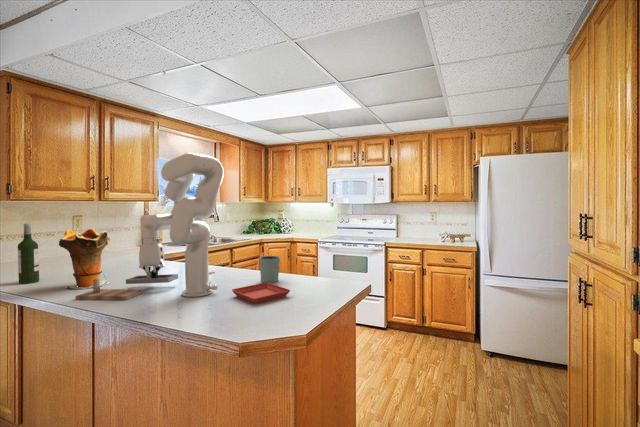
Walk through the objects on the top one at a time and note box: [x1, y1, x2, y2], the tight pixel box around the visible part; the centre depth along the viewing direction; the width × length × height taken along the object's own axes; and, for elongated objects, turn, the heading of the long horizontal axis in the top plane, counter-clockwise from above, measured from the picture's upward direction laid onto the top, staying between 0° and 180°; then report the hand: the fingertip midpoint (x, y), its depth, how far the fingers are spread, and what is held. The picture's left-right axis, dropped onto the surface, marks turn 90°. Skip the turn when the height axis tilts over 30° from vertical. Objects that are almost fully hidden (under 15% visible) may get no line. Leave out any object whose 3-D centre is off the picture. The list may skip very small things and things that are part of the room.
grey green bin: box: [259, 255, 281, 284], centre depth 168 cm, size 10×10×12 cm
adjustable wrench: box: [208, 269, 216, 276], centre depth 179 cm, size 25×6×2 cm, turn 167°
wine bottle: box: [17, 222, 40, 285], centre depth 170 cm, size 8×8×30 cm
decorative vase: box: [58, 227, 111, 290], centre depth 163 cm, size 21×23×28 cm
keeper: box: [75, 278, 144, 301], centre depth 143 cm, size 22×11×8 cm, turn 87°
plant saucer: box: [231, 282, 291, 305], centre depth 140 cm, size 18×18×3 cm
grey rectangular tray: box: [125, 269, 179, 285], centre depth 156 cm, size 20×9×5 cm, turn 87°
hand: (152, 280), depth 156 cm, fingers closed on grey rectangular tray
